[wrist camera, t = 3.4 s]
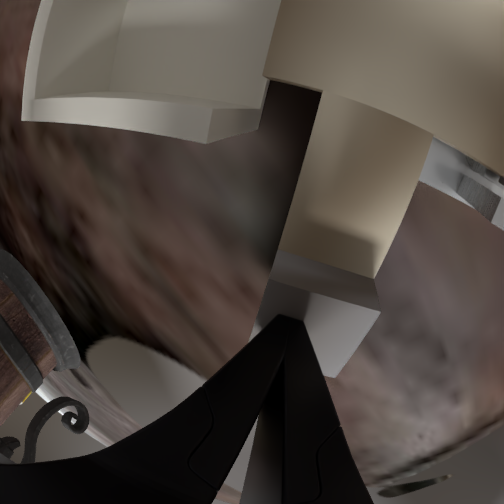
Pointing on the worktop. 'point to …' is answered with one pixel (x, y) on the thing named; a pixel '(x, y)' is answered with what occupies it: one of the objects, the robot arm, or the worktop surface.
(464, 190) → the fulcrum
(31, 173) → the worktop surface
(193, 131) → the tray
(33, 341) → the tankard
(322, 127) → the lever
